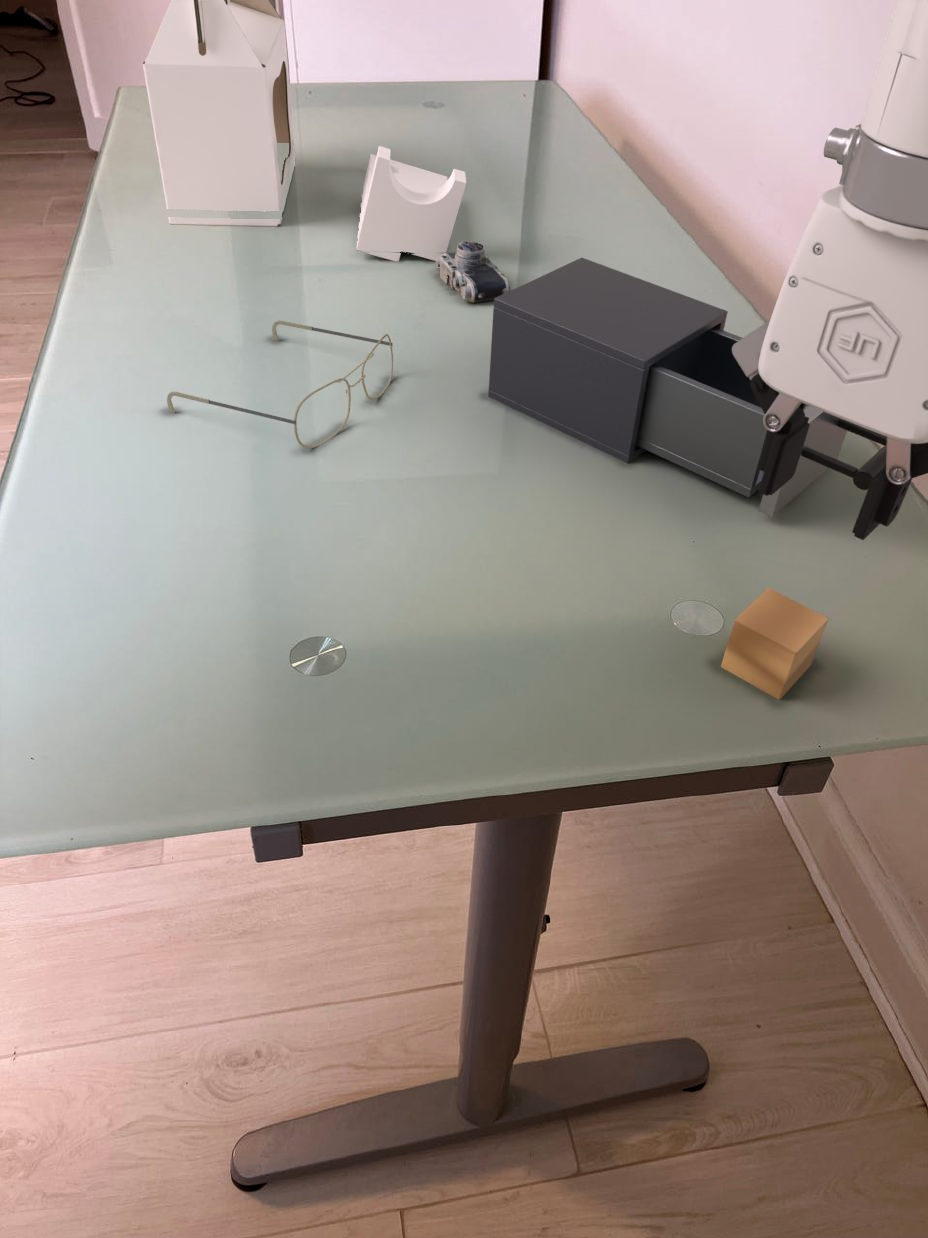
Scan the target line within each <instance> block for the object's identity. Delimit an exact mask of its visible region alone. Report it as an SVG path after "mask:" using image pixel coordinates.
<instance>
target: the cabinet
mask: <svg viewBox="0 0 928 1238" xmlns="http://www.w3.org/2000/svg"><path fill="white" fill-rule="evenodd" d="M492 308H493V310H492V324H491V325H492V327H491V328H492V329H491V346H490V360H489V361H490V362H489V379H488V380H489V381H488V398H490V399H491V400H493V401H497V402H498V403H499V404H503V405H504V406H506V407H508V408H511V409H512V410H515V411H516V412H519V413H521V414H523V415H526V416H528V417H530V418H531V419H534V420H535V421H538V422H540V423H543V424H544V425H546V426H548V427H550V428H553V429H555V430H557V431H559V432H561V433H563V434H565V435H567V436H569V437H572V438H573V439H576V440H577V441H580V442H581V443H584V444H586V445H588V446H590V447H592V448H595V449H596V450H598V451H600V452H602V453H604V454H607V455H609V456H611V457H613V458H615V459H617V460H619V461H622V462H623V463H626V464H629V463H631V462H632V461H633V460H636V458H638V457H639V456H641V455H642V454H644V453H645V452H646V451H647V450H645V449H643V448H641V447H639V446H637V445H635V444H636V439H637V433H638V428H639V422H640V416H641V411H642V405H643V400H644V394H645V388H646V383H647V377H648V372H649V366H651V365H653V364H654V363H656V362H657V361H659V360H661V359H662V358H664V357H666V356H667V355H669V354H670V353H672V352H674V351H675V350H677V349H679V348H680V347H682V346H684V345H685V344H687V343H688V342H690V341H692V340H693V339H695V338H697V337H698V336H700V335H701V334H703V333H705V332H706V331H708V330H710V329H711V328H713V327H716V328H718V329H721V330H723V331H725V326H726V322H727V318H728V317H727V316H728V310H726V309H723V308H720V307H717V306H715V305H713V304H710V303H706V302H704V301H701V300H698V299H695V298H694V297H690V296H687V295H685V294H682V293H679V292H677V291H674V290H672V289H668V288H666V287H664V286H662V285H661V286H660V285H658V284H655V283H652V282H649V281H647V280H644V279H641V278H638V277H636V276H634V275H630V274H628V273H625V272H622V271H619V270H617V269H614V268H612V267H609V266H606V265H603V264H601V263H598V262H595V261H592V260H590V259H588V258H584V257H580V258H578V259H575V260H573V261H571V262H569V263H567V264H565V265H562V266H560V267H558V268H556V269H554V270H552V271H550V272H548V273H545V274H544V275H543V274H542V275H541V276H539V277H537V278H535V279H533V280H530V281H528V282H526V283H524V284H522V285H520V286H518V287H515V288H513V289H512V290H511V289H510V291H509V292H507V293H505V294H503V295H500V296H498V297H496V298H494V300H493V307H492Z"/></svg>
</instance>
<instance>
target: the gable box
mask: <svg viewBox="0 0 928 1238" xmlns="http://www.w3.org/2000/svg"><path fill="white" fill-rule="evenodd" d="M142 68H143V74H144V80H145V81H144V82H145V85H146V93H147V98H148V103H149V110H150V115H151V122H152V127H153V134H154V135H153V136H154V140H155V146H156V147H155V148H156V152H157V158H158V165H159V171H160V177H161V183H162V188H163V194H164V199H165V205H166V206H165V207H166V210H167V209H175V210H176V209H184V210H186V209H187V210H189V209H191V210H193V209H195V210H214V211H217V210H219V211H221V210H222V211H233V210H234V211H236V210H237V211H261V212H262V211H263V212H266V211H269V212H270V211H279V209H280V206H281V200H282V196H283V191H284V186H285V182H286V177H287V174H288V170H289V165H290V160H291V155H292V150H293V145H294V146H295V138H294V124H293V113H292V112H293V111H292V99H291V86H290V74H289V61H288V48H287V34H286V23H285V20H284V19H282V17H281V15H279V13H278V11H277V9H276V8H275V7H274V5H273V4H272V2H271V1H270V0H170V2H169V4H168V7H167V9H166V11H165V14H164V16H163V19H162V20H161V23H160V26H159V28H158V31H157V33H156V35H155V37H154V40H153V42H152V45H151V47H150V49H149V52H148V54H147V56H146V58H145V59H144V61H143V63H142ZM277 143H289V154H288V157H287V158H285V160H284V164H283V170H282V180H281V181H280V171H279V158H278V148H277ZM167 218H168V223H169V224H170V225H179V226H180V225H184V226H228V227H229V226H231V227H232V226H233V227H234V226H236V227H280V226H281V225H282V222H283V221H282V220H283V217H281V218H280V219H231V218H182V217H168V216H167Z"/></svg>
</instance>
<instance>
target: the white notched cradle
mask: <svg viewBox="0 0 928 1238" xmlns="http://www.w3.org/2000/svg"><path fill="white" fill-rule="evenodd" d="M391 151H392V150H391V149H390V148H387V147H385V146H380V145H378V148H377V152H376V154H373V153H370V155H369V160H368V164H367V169H366V174H365V177H364V183H363V187H362V190H363V194H362V193H361V197H362V203H361V202H360V207H361V213H360V212H359V217H360V222H359V221H358V228H359V231H358V230H357V231H358V232H357V238H358V241H357V240H356V248H357V250H377V251H378V250H379V251H390V252H401V253H366V254H367V255H372V256H375V257H377V258H378V257H379V258H381V259H386V260H388V261H393V262H399V261H400V259H401V254H402V252H403V253H406V252H419V253H431V252H432V253H433V252H446V253H447V251H448V247H449V244H450V240H451V238H452V234H453V230H454V227H455V223H456V220H457V217H458V214H459V210H460V207H461V204H462V200H463V197H464V194H465V189H466V186H467V175H466V171H463V170H460V169H457V168H453V169H452V172H451V174H450V176H449V177H448V176H447V175H443V174H439V173H436V172H433V171H429V170H426V169H423V168H419V167H416V166H413V165H410V164H406V163H403V162H400V161H397V160H394V159H391ZM412 255H413V256H417V257H421V258H424V259H428V260H430V261H435V262H436V261H438V260H439V258H440V257H441V256H442V254H412Z"/></svg>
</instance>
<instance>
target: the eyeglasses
mask: <svg viewBox="0 0 928 1238" xmlns="http://www.w3.org/2000/svg"><path fill="white" fill-rule="evenodd" d="M279 325H282V326H287V327H292V328H296V329H302V330H306V331H307V330H308V331H311V332H312V331H313V332H318V333H324V334H329V335H332V336H339V337H343V338H348V339H353V340H359V341H363V342H370V343H375V345H374V346H373V348H372V349H371V350H370V351H369V353H368V354H367V356H365V359H364V361H362V362H361V363H360V364H358V366H356V367H355V368H353V369H352V370H351V371H350V372H349V373H347V374H346V375H345V376H343V377H342V378H341V377H340V378H337V379H334V380H332V381H329V382H328V383H326V384H323V386H320V387H318V388H316V389H315V390H313V391H312V392H310V393H308V394H307V395H306V396H305V397H304V398H303V399H302V400H301V401H299V404H298V405H297V407H296V410H295V413H294V417H293V419H289V418H285V417H281V416H277V415H273V414H269V413H264V412H261V411H257V410H252V409H248V408H243V407H239V406H235V405H231V404H227V403H222V402H218V401H215V400H210V399H208V398H204V397H200V396H196V395H193V394H187V393H183V392H178V391H170V392H169V393H168V394H167V398H166V404H167V409H168V412H169V413H170V414H175V413H176V410H175V408H174V404H173V401H172V399H173V397H179V398H183V399H187V400H191V401H195V402H200V403H204V404H207V405H213V406H217V407H221V408H225V409H230V410H234V411H238V412H243V413H246V414H250V415H255V416H259V417H263V418H268V419H270V420H275V421H279V422H284V423H288V424H292V425H293V429H294V436H295V439H296V441H297V443H298V444H299V445H300V446H302V448H305V449H315V448H317V447H319V446H321V445H323V444H325V443H327V442H328V441H329V440H332V439H333V438H334V437H336V436H337V435H338V434H339V433H340V432H341V431H342V429H343V428H344V427H345V425H346V424H347V421H348V420H349V417H350V413H351V399H352V398H351V397H352V395H351V394H352V393H351V388H353V387H356V386H357V384H359V383H361V384H362V387H363V391H364V394H365V396H366V398H367V399H368V400H371V401H374V400H377V399H379V398H381V397H382V396H383V395H384V394H385V392H386V391H387V390H388V388H389V386H390V384H391V382H392V377H393V372H394V352H393V351H394V350H393V342H392V340H391V337H390V335H389V334H388V333H385V334H383V335H382V337H380V339H375V338H371V337H366V336H360V335H354V334H349V333H344V332H340V331H335V330H328V329H325V328H319V327H314V326H311V325H306V324H301V323H296V322H290V321H285V320H276V321H275V322H274V323H273V324H272V327H271V333H272V340H273V341H275V342H279V335H278V332H277V327H278V326H279ZM386 337H387V339H388V341H385V340H384V339H385V338H386ZM379 345H384V346H389V349H390V357H391V358H390V374H389V379H388V382H387V385H386V386H385V387H384V389H383V390H382V392H381V393H380V394H378V395H377V396H374V397H371V396H370V395H369V393H368V391H367V388H366V384H365V378H366V377H367V375H366V374H364V371H365V366H366V364H367V362H368V361H369V360H370V359H371V358H372V357H374V356H375V353H374V351H375V350H377V348H378V346H379ZM360 367H361V372H360V373H361V374H360V375H361V377H358V380H357V381H356V382H355V383H353V384H352V385H350V382H349V381H348V379H346V378H347V377H349V376H350V375H351V374H353V373H354V372H355V371H356V370H358V369H360ZM343 381H344V382H345V384H346V387H347V388H345V394H347V397H348V399H347V400H348V401H347V402H348V404H347V413H346V416H345V419H344V420H343V422H342V424H341V425H340V427H339V428H338V430H336V431H335V432H334V433H333V434H331V436H329V437H328V438H325V440H323V441H321V442H320V443H318V444H314V445H306V444H304V443H303V442H302V441H301V440H300V437H299V434H298V426H297V425H298V424H297V423H298V421H297V420H298V414H299V411H300V409H301V407H302V405H303V404H304V402H306V401H307V400H308V399H309V398H310V397H311V396H313V395H314V394H316V393H318V392H320V391H322V390H323V389H326V388H327V387H329V386H331V385H333V384H335V383H338V384H339V383H341V382H343Z"/></svg>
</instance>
